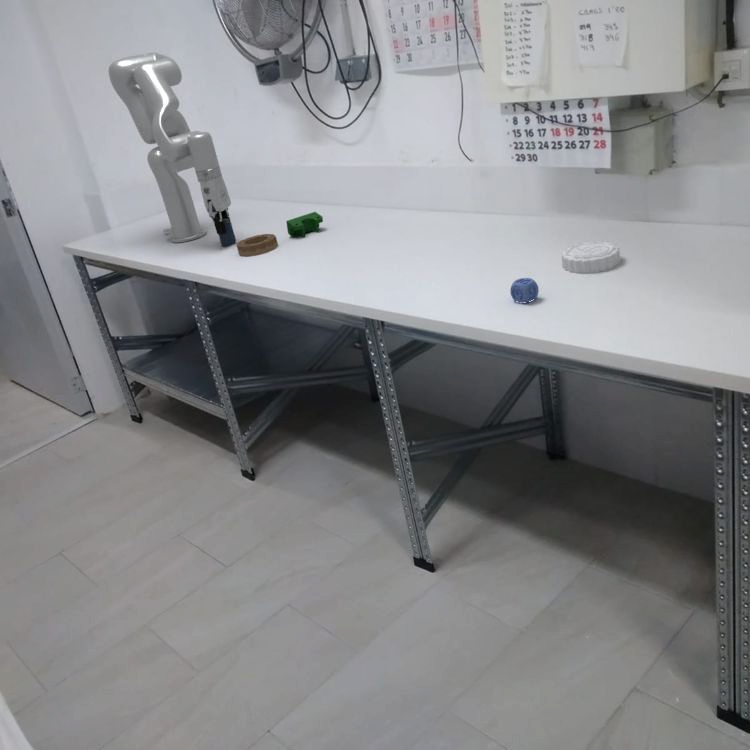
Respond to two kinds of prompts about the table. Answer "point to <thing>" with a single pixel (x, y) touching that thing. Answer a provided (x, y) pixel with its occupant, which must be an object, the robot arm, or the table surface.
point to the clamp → (304, 224)
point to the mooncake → (590, 257)
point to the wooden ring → (257, 245)
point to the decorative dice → (524, 290)
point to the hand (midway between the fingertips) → (224, 231)
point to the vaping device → (229, 236)
